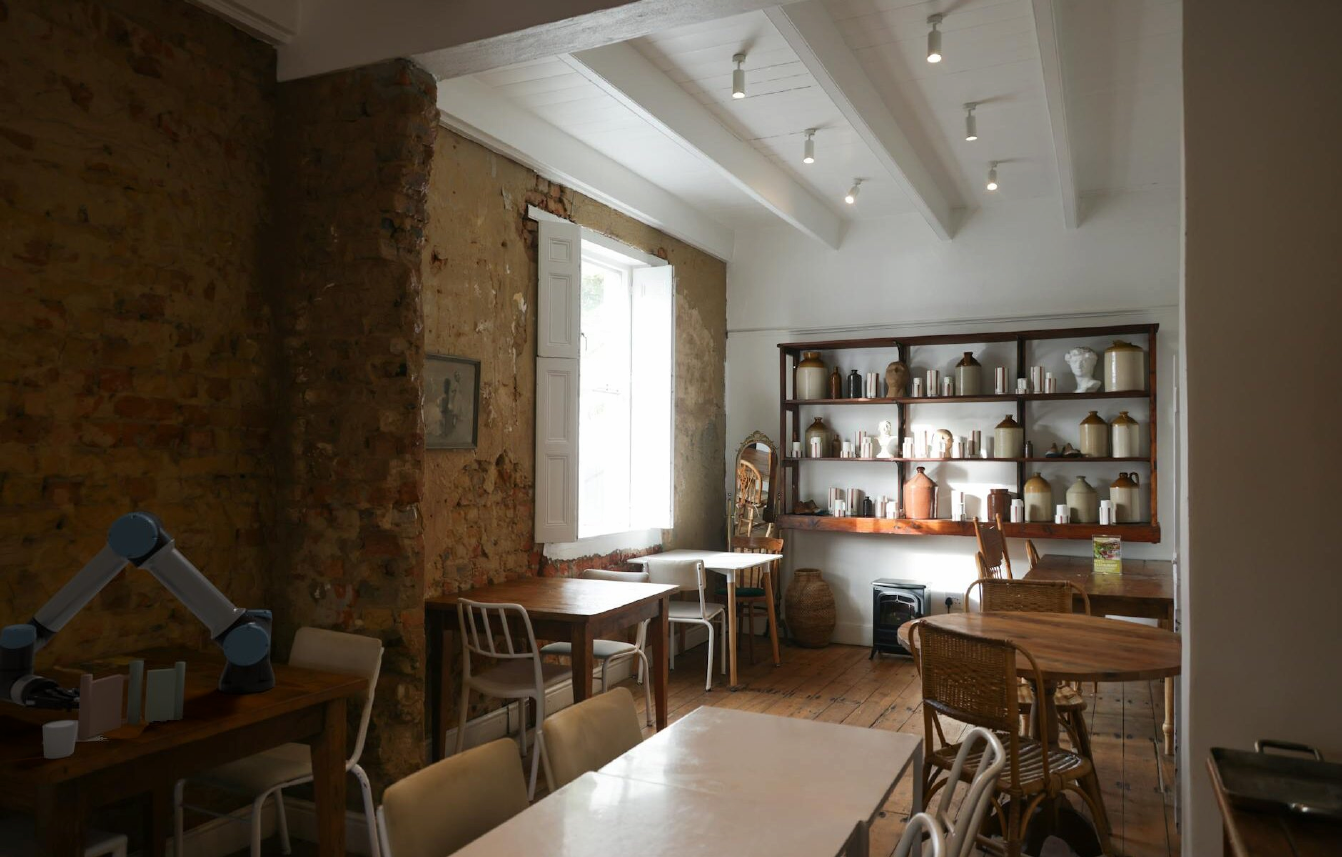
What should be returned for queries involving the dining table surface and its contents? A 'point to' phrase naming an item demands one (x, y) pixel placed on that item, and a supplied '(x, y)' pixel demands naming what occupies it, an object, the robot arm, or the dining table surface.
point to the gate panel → (100, 705)
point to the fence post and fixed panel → (156, 693)
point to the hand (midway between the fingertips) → (92, 707)
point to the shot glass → (59, 738)
